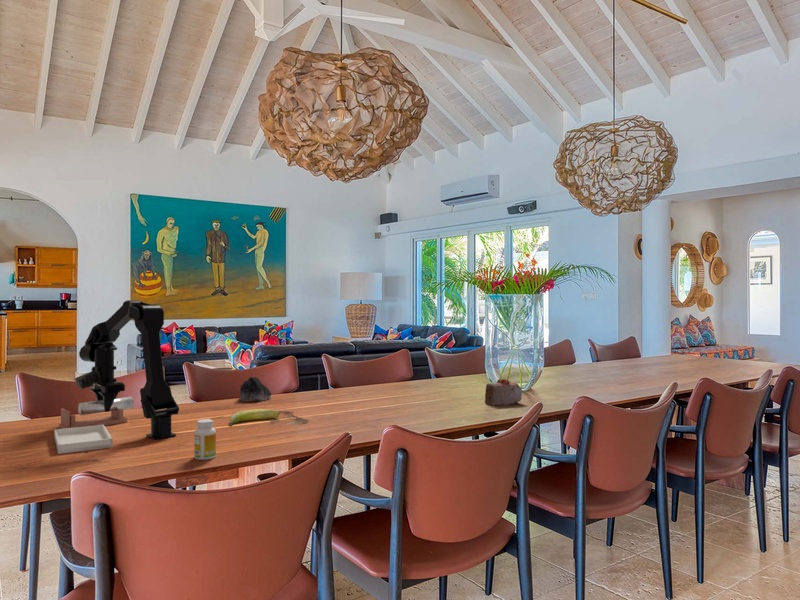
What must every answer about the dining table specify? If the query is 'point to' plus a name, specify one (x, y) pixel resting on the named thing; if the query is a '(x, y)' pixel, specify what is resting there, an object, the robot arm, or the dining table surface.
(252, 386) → the dark grey rough lump
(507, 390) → the food item
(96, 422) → the hitch bracket
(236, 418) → the unripe green banana
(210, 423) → the supplement bottle
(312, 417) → the dining table surface
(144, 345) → the robot arm
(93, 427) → the tray
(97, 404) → the pin
